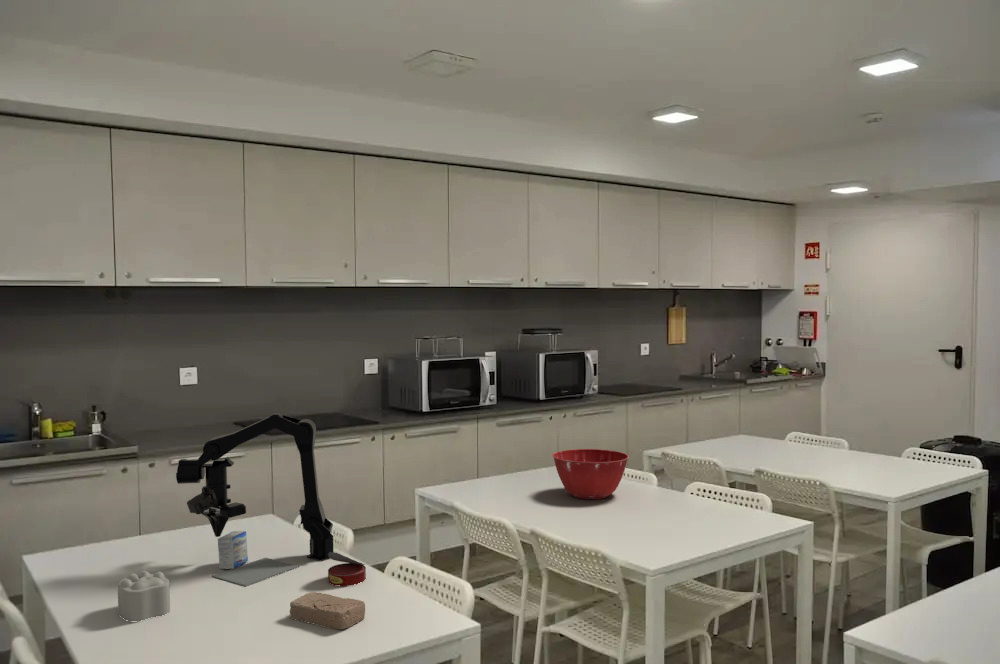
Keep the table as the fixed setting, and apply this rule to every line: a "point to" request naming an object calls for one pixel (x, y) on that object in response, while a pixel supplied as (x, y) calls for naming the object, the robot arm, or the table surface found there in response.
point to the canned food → (345, 571)
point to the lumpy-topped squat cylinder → (143, 596)
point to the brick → (327, 610)
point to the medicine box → (232, 550)
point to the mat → (255, 571)
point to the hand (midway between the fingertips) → (217, 536)
